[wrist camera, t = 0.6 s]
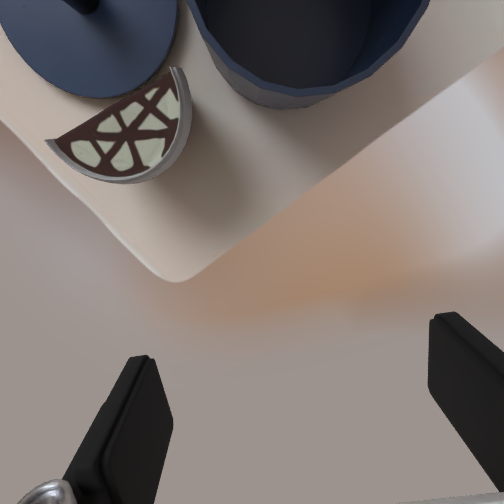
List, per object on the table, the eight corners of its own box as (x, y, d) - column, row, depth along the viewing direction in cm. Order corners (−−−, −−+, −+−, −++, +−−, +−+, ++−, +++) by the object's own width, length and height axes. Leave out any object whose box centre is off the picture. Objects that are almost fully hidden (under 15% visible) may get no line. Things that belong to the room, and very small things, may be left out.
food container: (128, 193, 36) (86, 213, 27) (95, 141, 35) (38, 143, 25) (225, 141, 35) (217, 143, 25) (197, 83, 33) (176, 62, 23)
